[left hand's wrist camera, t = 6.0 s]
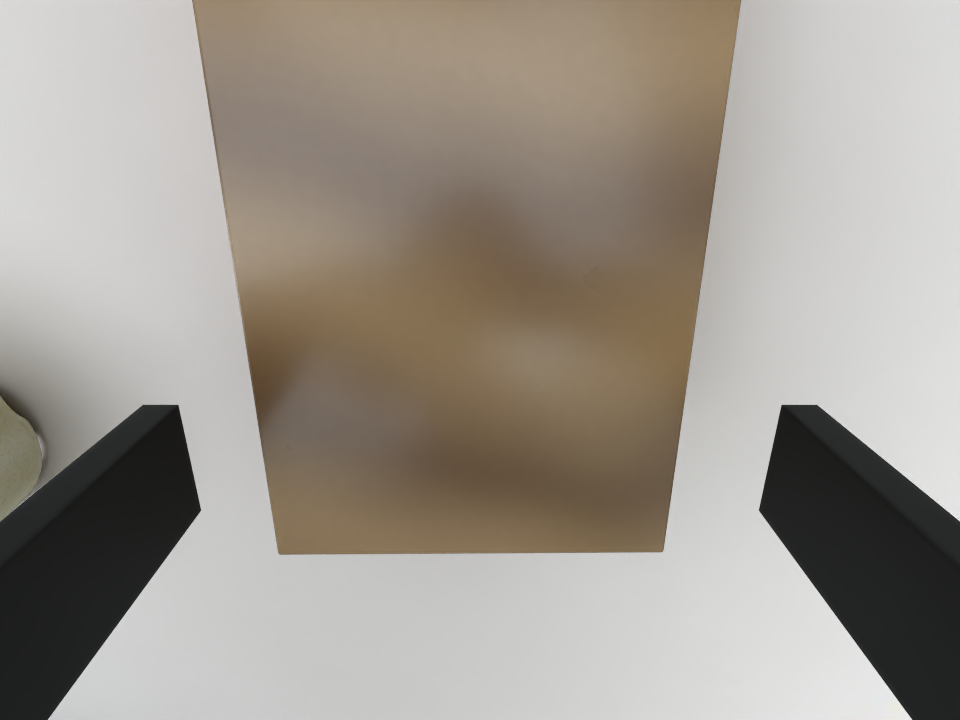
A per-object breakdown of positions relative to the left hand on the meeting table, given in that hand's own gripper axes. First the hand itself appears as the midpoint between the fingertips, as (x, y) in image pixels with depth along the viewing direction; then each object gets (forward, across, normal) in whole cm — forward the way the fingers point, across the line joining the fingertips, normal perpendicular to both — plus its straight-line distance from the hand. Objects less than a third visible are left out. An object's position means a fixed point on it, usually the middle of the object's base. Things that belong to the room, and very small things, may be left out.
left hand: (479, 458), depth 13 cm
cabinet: (+10, 0, -6) cm, 12 cm away
